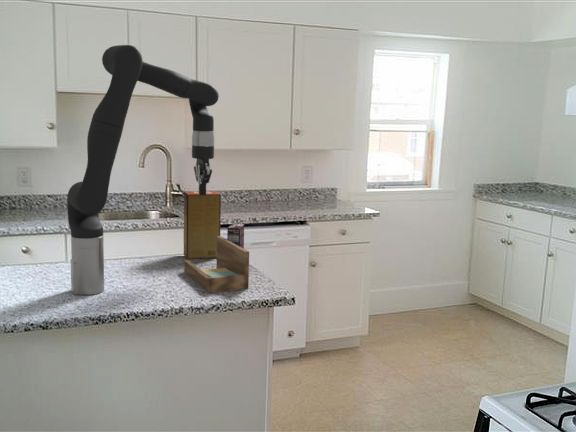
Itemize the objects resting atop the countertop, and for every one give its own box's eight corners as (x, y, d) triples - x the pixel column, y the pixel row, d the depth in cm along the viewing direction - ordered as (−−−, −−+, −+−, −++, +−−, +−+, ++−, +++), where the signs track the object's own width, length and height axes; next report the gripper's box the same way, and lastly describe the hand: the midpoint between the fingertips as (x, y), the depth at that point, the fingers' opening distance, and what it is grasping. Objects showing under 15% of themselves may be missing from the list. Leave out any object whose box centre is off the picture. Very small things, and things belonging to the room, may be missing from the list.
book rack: (208, 292, 181) (209, 254, 179) (184, 271, 204) (184, 238, 202) (248, 288, 187) (249, 251, 185) (220, 268, 210) (220, 235, 208)
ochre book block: (205, 284, 190) (206, 274, 190) (199, 280, 195) (199, 270, 194) (231, 281, 195) (231, 271, 194) (224, 277, 199) (225, 267, 199)
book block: (213, 290, 184) (214, 278, 184) (205, 285, 189) (205, 273, 188) (238, 286, 190) (238, 274, 189) (229, 282, 194) (230, 270, 193)
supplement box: (231, 265, 215) (231, 223, 212) (244, 266, 214) (245, 223, 212) (226, 271, 206) (226, 227, 204) (239, 272, 206) (240, 228, 203)
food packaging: (215, 252, 235) (216, 190, 230) (220, 257, 226) (221, 193, 222) (182, 253, 230) (183, 190, 226) (186, 259, 222) (186, 194, 217)
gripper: (186, 143, 203) (186, 192, 206) (198, 145, 192) (198, 197, 195) (207, 143, 207) (206, 192, 210) (220, 145, 195) (219, 197, 198)
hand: (202, 194), depth 202 cm, fingers closed
